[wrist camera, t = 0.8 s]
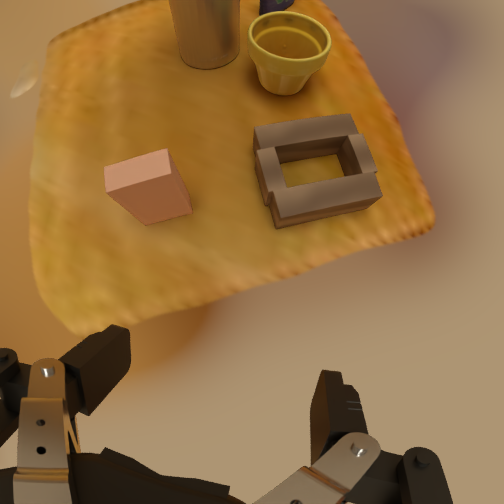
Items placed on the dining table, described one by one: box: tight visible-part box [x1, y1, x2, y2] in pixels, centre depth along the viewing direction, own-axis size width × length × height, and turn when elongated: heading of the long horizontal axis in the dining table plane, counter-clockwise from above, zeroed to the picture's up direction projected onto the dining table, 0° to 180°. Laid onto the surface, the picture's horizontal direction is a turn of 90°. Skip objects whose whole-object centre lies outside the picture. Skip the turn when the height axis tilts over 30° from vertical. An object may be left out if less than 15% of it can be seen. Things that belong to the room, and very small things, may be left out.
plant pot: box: [247, 11, 332, 95], centre depth 35 cm, size 10×10×10 cm
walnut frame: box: [253, 114, 383, 229], centre depth 35 cm, size 11×13×5 cm
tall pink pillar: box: [104, 148, 193, 225], centre depth 30 cm, size 2×6×12 cm, turn 104°
